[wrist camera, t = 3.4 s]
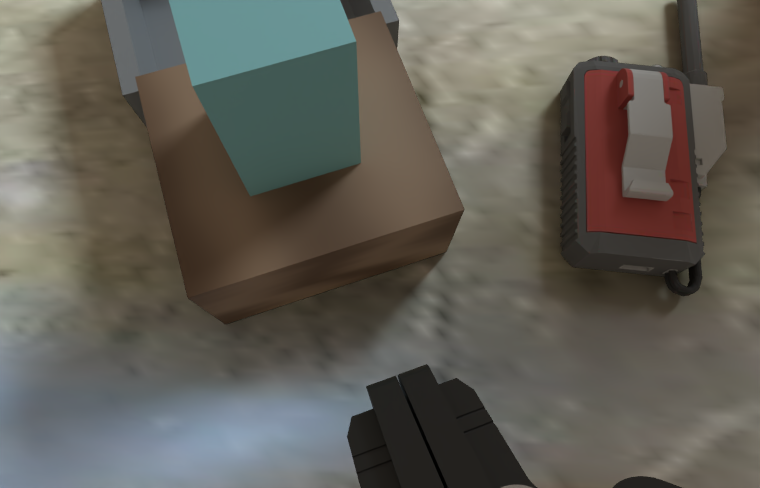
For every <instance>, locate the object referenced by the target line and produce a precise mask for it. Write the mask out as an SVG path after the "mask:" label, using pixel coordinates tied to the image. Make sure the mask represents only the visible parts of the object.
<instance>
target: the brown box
mask: <svg viewBox="0 0 760 488" xmlns="http://www.w3.org/2000/svg"><path fill="white" fill-rule="evenodd" d="M348 21H349V24H350V26H351V29H352V32H353V34H354V37H355V39H356V45H357V71H358V97H359V124H360V150H361V163H360V164H356V165H353V166H350V167H346V168H343V169H340V170H336V171H333V172H330V173H326V174H323V175H320V176H316V177H313V178H310V179H307V180H303V181H300V182H297V183H293V184H290V185H287V186H283V187H280V188H277V189H273V190H270V191H267V192H263V193H260V194H257V195H253V196H250V195H249V193H248V191H247V189H246V187H245V186H244V184H243V182H242V180H241V178H240V176H239V174H238V172H237V170H236V168H235V167H234V165H233V163H232V161H231V159H230V157H229V155H228V153H227V151H226V149H225V148H224V146H223V144H222V142H221V140H220V138H219V136H218V134H217V132H216V130H215V128H214V127H213V125H212V123H211V121H210V119H209V117H208V115H207V113H206V111H205V109H204V108H203V106H202V104H201V102H200V100H199V98H198V96H197V94H196V92H195V90H194V89H193V87H192V83H191V80H190V76H189V72H188V69H187V65H186V63H185V64H181V65H177V66H174V67H170V68H166V69H163V70H159V71H155V72H151V73H148V74H144V75H140V76H136V77H135V79H136V83H137V87H138V92H139V96H140V100H141V104H142V108H143V113H144V117H145V121H146V125H147V129H148V134H149V138H150V142H151V146H152V150H153V154H154V159H155V163H156V167H157V171H158V175H159V180H160V184H161V188H162V192H163V196H164V201H165V205H166V209H167V213H168V217H169V222H170V226H171V230H172V234H173V238H174V243H175V247H176V251H177V255H178V259H179V263H180V268H181V272H182V276H183V280H184V284H185V289H186V293H187V297H188V299H190V300H191V301H193V302H194V303H196V304H197V305H198V306H200V307H201V308H203V309H204V310H206V311H207V312H208V313H210V314H211V315H213V316H214V317H216V318H217V319H218V320H220V321H221V322H223V323H224V324H228V323H231V322H234V321H237V320H240V319H243V318H246V317H249V316H252V315H256V314H259V313H262V312H265V311H268V310H271V309H274V308H277V307H280V306H283V305H286V304H289V303H292V302H295V301H298V300H301V299H304V298H307V297H310V296H313V295H317V294H320V293H323V292H326V291H329V290H332V289H335V288H338V287H341V286H344V285H347V284H350V283H353V282H356V281H359V280H362V279H365V278H368V277H371V276H374V275H378V274H381V273H384V272H387V271H390V270H393V269H396V268H399V267H402V266H405V265H408V264H411V263H414V262H417V261H420V260H423V259H426V258H429V257H432V256H435V255H439V254H442V253H445V252H446V251H447V249H448V246H449V244H450V242H451V240H452V237H453V235H454V233H455V230H456V228H457V226H458V223H459V221H460V219H461V216H462V214H463V212H464V207H463V205H462V203H461V200H460V198H459V196H458V193H457V191H456V188H455V186H454V184H453V181H452V179H451V177H450V174H449V172H448V169H447V167H446V165H445V162H444V160H443V158H442V155H441V153H440V150H439V148H438V146H437V143H436V141H435V139H434V136H433V134H432V131H431V129H430V127H429V124H428V122H427V120H426V117H425V115H424V112H423V110H422V108H421V105H420V103H419V101H418V98H417V96H416V93H415V91H414V89H413V86H412V84H411V82H410V79H409V77H408V74H407V72H406V70H405V67H404V65H403V63H402V60H401V58H400V55H399V53H398V51H397V48H396V46H395V44H394V41H393V39H392V36H391V34H390V32H389V29H388V27H387V25H386V22H385V20H384V17H383V15H382V13H381V11H379V12H375V13H371V14H367V15H364V16H360V17H356V18H353V19H349V20H348Z"/></svg>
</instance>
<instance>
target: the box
mask: <svg viewBox="0 0 760 488" xmlns="http://www.w3.org/2000/svg"><path fill="white" fill-rule="evenodd" d="M340 1H341V4H342V6H343V9H344V11H345V14H346V16H347V19H348V20H349V19H353V18H356V17H360V16H364V15H367V14H371V13H375V12H379V11H381V13H382V15H383V17H384V20H385V22H386V25H387V27H388V29H389V32H390V34H391V36H392V39H393V41H394V44H395V46H396V48H397V43H398V28H399V19H398V17H397V14H396V12H395V10H394V7H393V5H392V3H391V0H340ZM101 2H102V7H103V11H104V15H105V20H106V24H107V29H108V33H109V37H110V42H111V46H112V51H113V55H114V59H115V64H116V68H117V73H118V77H119V81H120V86H121V90H122V95H123V96H124V98H125V99H126V100H127V102H128V103H129V104H130V106H131V107H132V108H133V110H134V111H135V112H136V114H137V115H138V116H139V118H140V119H141V120H142V122H143V123H144V124H145V126H146V127H147V125H146V121H145V117H144V113H143V108H142V104H141V100H140V96H139V92H138V87H137V83H136V79H135V77H136V76H140V75H144V74H148V73H151V72H155V71H159V70H163V69H166V68H170V67H174V66H177V65H181V64H185V63H186V61H185V58H184V54H183V51H182V47H181V43H180V40H179V36H178V32H177V29H176V25H175V22H174V18H173V14H172V11H171V7H170V3H169V0H101Z"/></svg>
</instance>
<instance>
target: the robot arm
mask: <svg viewBox="0 0 760 488" xmlns="http://www.w3.org/2000/svg"><path fill="white" fill-rule="evenodd" d="M398 379H399V382H398V380H397V378H396V376H394V377H391V378H388V379H385V380H383V381H380V382H377V383H374V384H372V385H369V386H366V388H367V391H368V394H369V397H370V400H371V403H372V406H373V409H371V410H369V411H366V412H363V413H361V414H358V415H355V416H352V418H351V422H350V427H349V431H348V436H347V438H348V442H349V445H350V449H351V453H352V457H353V460H354V464H355V468H356V472H357V475H358V479H359V483H360V487H361V488H537V487H536V486H534V484H533V483H532V482H531V481H530V480H529V479H528V477H527V476H526V474H525V473H524V471H523V469H522V468H521V466H520V465H519V463H518V461H517V460H516V458H515V456H514V455H513V453H512V451H511V450H510V448H509V446H508V445H507V443H506V442H505V440H504V438H503V437H502V435H501V433H500V432H499V430H498V428H497V427H496V425H495V424H494V423H493V420H492V419H491V417H490V415H489V414H488V412H487V410H485V408H484V406H483V404H482V402H481V401H480V399H479V397H478V396H477V394H476V392H475V391H474V389H472V388H471V387H469V386H468V385H466V384H465V383H463V382H462V381H460V380H459V379H457V378H455V379H453V380H450V381H447V382H444V383H442V384H439V385H438V383H437V381H436V379H435V377H434V375H433V373H432V372H431V370H430V368H429V366H428V365H427V364H426V365H424V366H421V367H418V368H415V369H413V370H410V371H407V372H404V373H402V374H399V375H398ZM399 383H400V384H399ZM400 386H401V387H400ZM613 488H682V487H679V486H676V485H673V484H671V483H668V482H665V481H663V480H659V479H656V478H652V477H644V476H638V477H631V478H627V479H624V480H622V481H620V482H619V483H617V484H616V485H615V486H614V487H613Z"/></svg>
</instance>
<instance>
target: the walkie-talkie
mask: <svg viewBox="0 0 760 488" xmlns="http://www.w3.org/2000/svg"><path fill="white" fill-rule="evenodd" d="M677 5H678V17H679V28H680V39H681V51H682V62H683V73H682V72H681V71H679V70H677V69H674V68H665V67H662V66H660V65H652V66H645V65H635V64H625V63H618V62H617V60H616V59H614V58H612V57H608V56H598V57H595V58H592V59H590V60H588V61H586V62H579V63H578V64H577V65H576V66H575V67H574V68H573V70H572V72H571V74H570V75H569V77H568V79H567V81H566V82H565V84H564V86H563V88H562V89H561V91H560V94H561V157H562V161H561V165H562V170H561V174H562V178H561V182H562V187H561V191H562V196H561V200H562V205H561V209H562V214H561V218H562V224H561V228H562V233H561V237H562V242H561V246H562V252H561V255H562V256H563V257H564V258H565V259H566V260H567V262H568V263H569V264H570V265H571V266H572V267H578V268H587V269H597V270H606V271H616V272H626V273H635V274H645V275H655V276H664V277H665V282H666V284H667V286H668V288H669V289H670V290H671V291H672V292H673V293H675V294H678V295H681V296H687V295H690V294H693V293H695V292H696V291H697V290H698V289H699V288H700V284H701V280H702V270H701V258H702V257H703V256H704V255H705V253H704V252H703V246H704V242H703V241H702V236H703V232H702V230H701V226H702V222H701V219H700V216H701V212H700V208H699V206H700V202H699V198H700V195H701V190H702V189H704V188H705V187H707V186H708V185H707V175H706V174H707V173H708V172H709V170H710V169H711V168H712V167H713V165H714V164H715V163H716V162H717V160H718V159H719V158H720V157H721V155H722V154H723V153H724V152H725V150H726V149H727V144H726V135H725V125H724V116H723V106H722V101H723V100H724V91H723V87H717V86H708V84H707V73H706V72H705V71H703V61H702V51H701V41H700V31H699V21H698V11H697V1H696V0H677ZM688 268H689V280H690V281H689V283H688V286H687V287H686V286H683V285H681V284H680V283H679V281H678V278H677V274H678V273H680V272H682V271H684V270H686V269H688Z"/></svg>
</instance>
